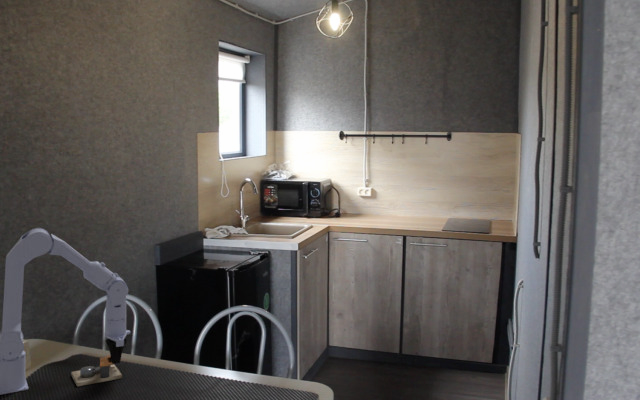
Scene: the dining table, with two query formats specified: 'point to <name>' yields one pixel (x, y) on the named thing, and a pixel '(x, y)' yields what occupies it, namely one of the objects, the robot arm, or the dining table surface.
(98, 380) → the board
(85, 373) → the crank
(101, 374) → the post
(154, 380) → the dining table surface
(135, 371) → the dining table surface
